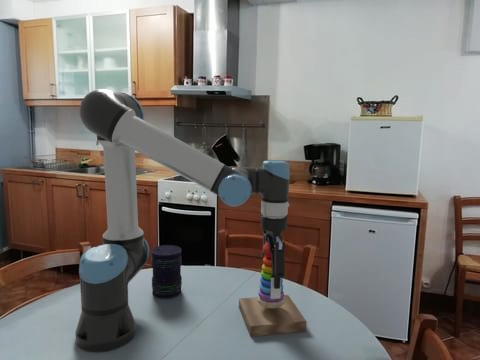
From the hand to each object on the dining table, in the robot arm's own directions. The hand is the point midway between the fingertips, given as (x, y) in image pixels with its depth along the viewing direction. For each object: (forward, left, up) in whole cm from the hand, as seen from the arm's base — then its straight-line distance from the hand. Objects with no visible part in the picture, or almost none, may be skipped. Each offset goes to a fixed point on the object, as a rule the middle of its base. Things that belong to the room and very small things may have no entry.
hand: (271, 291), depth 107 cm
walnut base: (0, 0, -9) cm, 9 cm away
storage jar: (-30, +22, -9) cm, 38 cm away
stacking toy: (0, 0, -4) cm, 4 cm away
